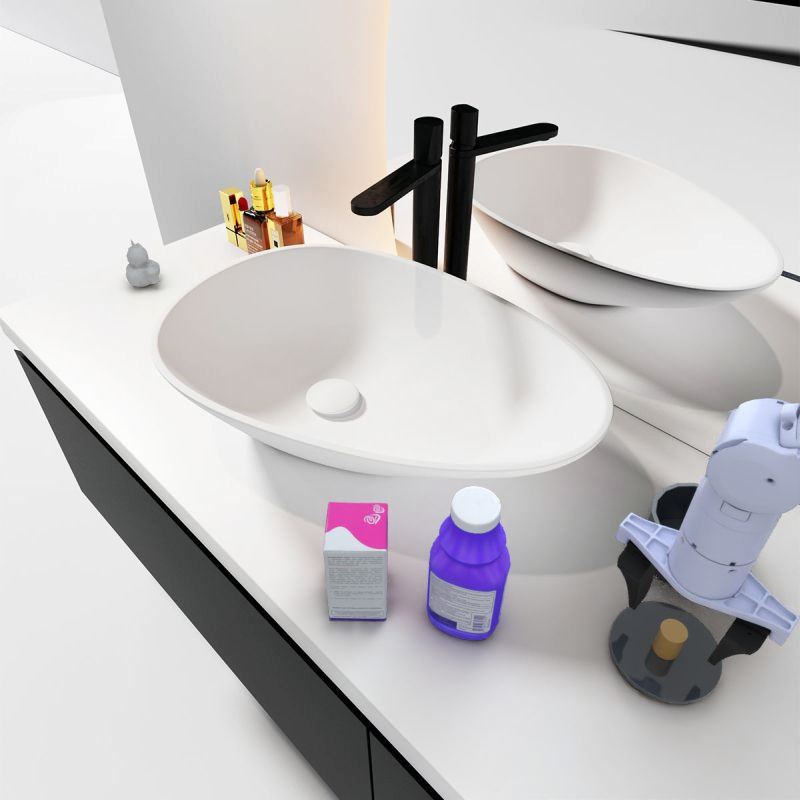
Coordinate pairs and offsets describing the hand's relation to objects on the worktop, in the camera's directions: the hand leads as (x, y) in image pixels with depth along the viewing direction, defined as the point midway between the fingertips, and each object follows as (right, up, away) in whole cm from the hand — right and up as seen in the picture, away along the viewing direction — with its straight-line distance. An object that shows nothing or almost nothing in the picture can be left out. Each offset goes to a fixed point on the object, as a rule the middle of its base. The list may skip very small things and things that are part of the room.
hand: (675, 627), depth 62 cm
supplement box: (-29, 0, +8) cm, 30 cm away
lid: (0, -3, +3) cm, 4 cm away
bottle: (-18, -1, +6) cm, 19 cm away
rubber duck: (-66, +39, +51) cm, 92 cm away
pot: (+6, +4, +12) cm, 14 cm away
